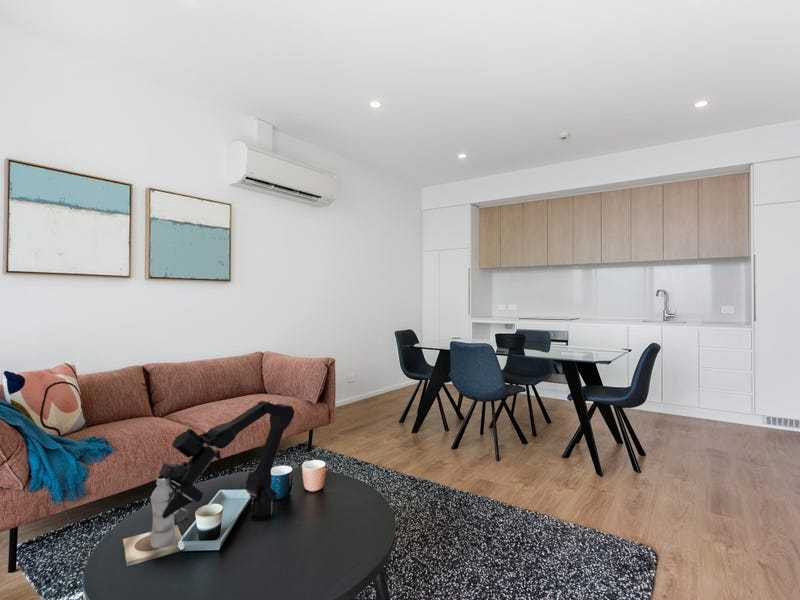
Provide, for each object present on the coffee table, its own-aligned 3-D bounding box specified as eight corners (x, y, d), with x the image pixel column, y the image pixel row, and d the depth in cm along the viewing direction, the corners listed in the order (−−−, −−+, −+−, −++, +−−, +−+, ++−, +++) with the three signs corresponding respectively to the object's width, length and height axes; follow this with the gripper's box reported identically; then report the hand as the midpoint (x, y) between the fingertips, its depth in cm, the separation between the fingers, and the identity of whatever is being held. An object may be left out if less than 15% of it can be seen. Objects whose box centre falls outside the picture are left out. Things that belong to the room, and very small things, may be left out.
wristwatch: (166, 523, 144) (166, 508, 144) (184, 517, 148) (185, 502, 149) (169, 527, 141) (170, 512, 142) (189, 520, 146) (189, 505, 146)
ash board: (176, 528, 140) (176, 524, 140) (185, 549, 128) (185, 544, 128) (123, 542, 131) (123, 538, 131) (126, 566, 119) (126, 561, 119)
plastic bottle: (180, 542, 125) (182, 474, 126) (159, 554, 119) (161, 482, 120) (165, 537, 128) (167, 470, 129) (144, 548, 122) (145, 478, 122)
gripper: (164, 445, 133) (124, 492, 124) (193, 458, 122) (151, 511, 113) (189, 463, 139) (153, 509, 130) (219, 477, 128) (181, 529, 119)
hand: (158, 514), depth 123 cm, fingers closed on plastic bottle, 6 cm apart
